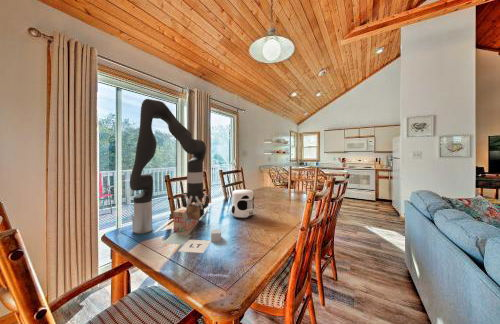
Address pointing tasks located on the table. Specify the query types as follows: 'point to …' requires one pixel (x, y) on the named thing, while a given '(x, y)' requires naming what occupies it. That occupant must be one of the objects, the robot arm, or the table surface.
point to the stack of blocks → (182, 220)
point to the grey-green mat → (177, 239)
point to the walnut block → (193, 211)
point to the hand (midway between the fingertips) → (195, 215)
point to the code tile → (195, 246)
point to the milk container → (243, 203)
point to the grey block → (215, 235)
